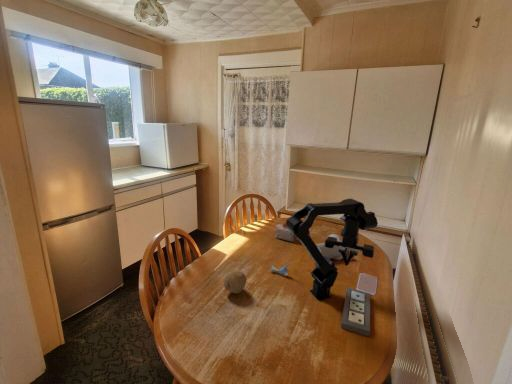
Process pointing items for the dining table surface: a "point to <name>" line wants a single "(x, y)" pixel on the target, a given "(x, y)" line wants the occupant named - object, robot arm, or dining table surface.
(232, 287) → the natural sponge
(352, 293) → the one dot key
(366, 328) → the grey flat block
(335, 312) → the dining table surface
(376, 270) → the dining table surface
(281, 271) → the dinosaur figurine
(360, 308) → the three dot key
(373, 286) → the mobile phone
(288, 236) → the white box
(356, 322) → the two dot key
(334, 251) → the elbow connector
